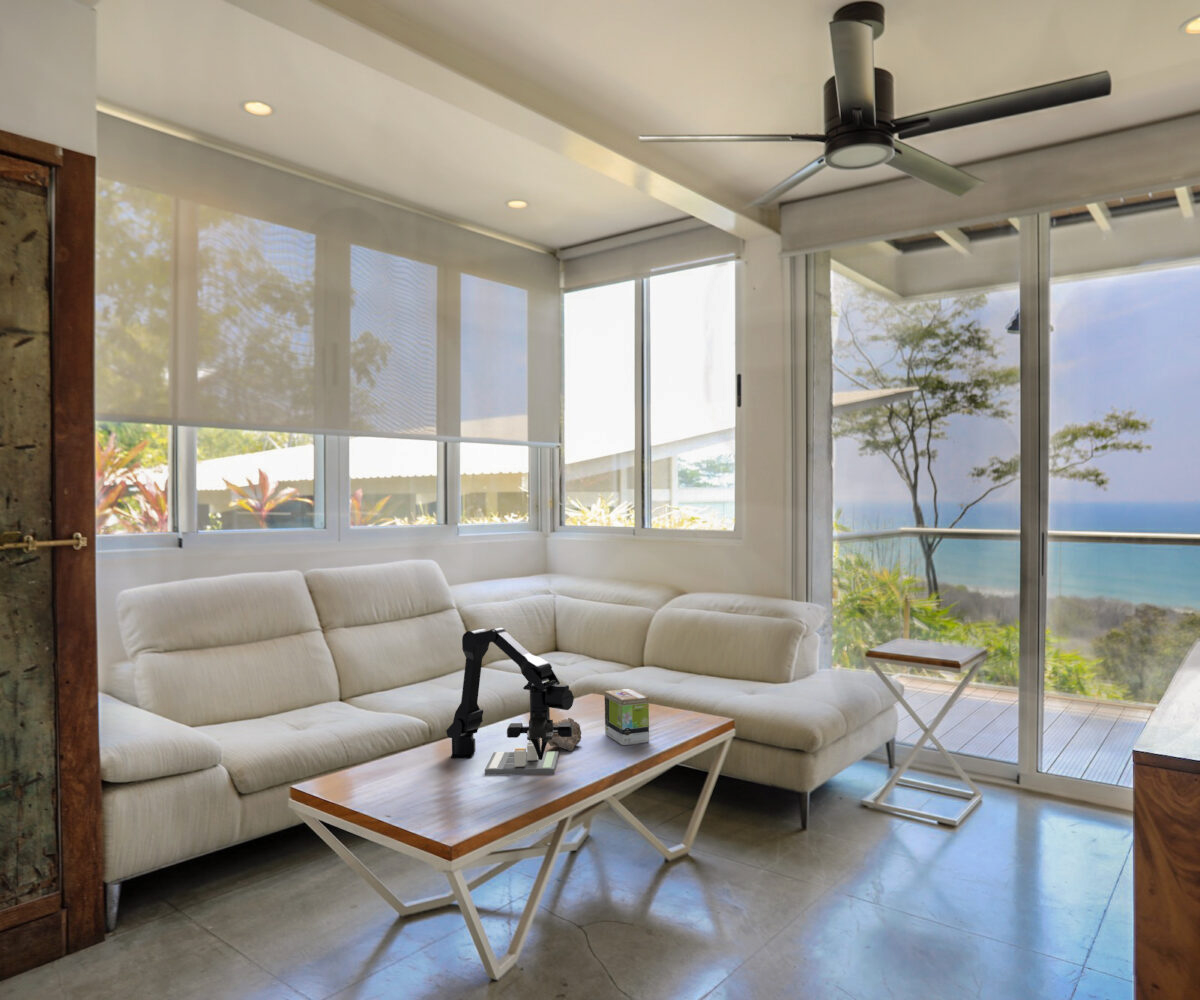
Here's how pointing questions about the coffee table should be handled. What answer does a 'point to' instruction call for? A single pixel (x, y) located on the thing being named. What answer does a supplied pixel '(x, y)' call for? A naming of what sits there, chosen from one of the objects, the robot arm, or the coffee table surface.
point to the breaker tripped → (520, 756)
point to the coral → (567, 741)
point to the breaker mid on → (531, 752)
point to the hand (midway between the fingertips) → (540, 759)
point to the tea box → (627, 716)
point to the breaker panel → (506, 765)
